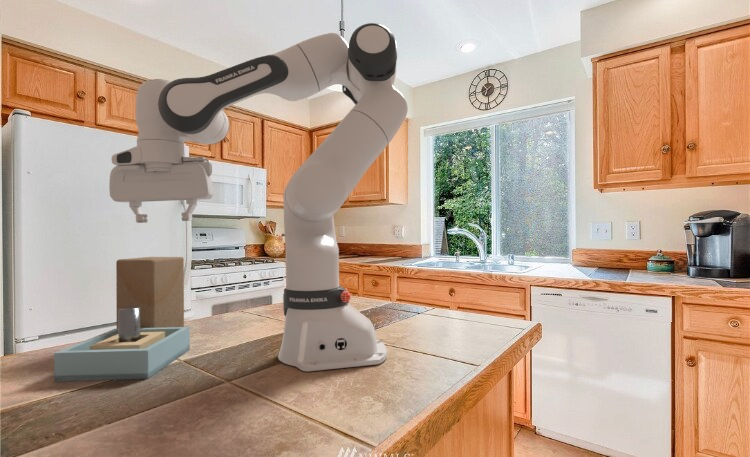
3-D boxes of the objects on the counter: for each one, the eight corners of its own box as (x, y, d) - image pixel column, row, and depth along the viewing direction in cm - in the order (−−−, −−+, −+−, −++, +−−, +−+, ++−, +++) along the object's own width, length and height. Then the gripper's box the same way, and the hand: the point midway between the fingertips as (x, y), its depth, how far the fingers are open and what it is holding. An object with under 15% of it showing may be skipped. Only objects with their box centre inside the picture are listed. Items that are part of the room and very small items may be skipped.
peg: (144, 355, 73) (143, 306, 73) (133, 361, 70) (132, 310, 70) (126, 355, 73) (125, 306, 73) (114, 362, 70) (113, 310, 70)
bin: (189, 349, 80) (189, 326, 80) (148, 378, 64) (148, 350, 64) (115, 351, 79) (114, 328, 79) (54, 381, 63) (54, 353, 63)
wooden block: (152, 349, 81) (152, 259, 81) (115, 347, 83) (115, 259, 83) (185, 336, 90) (184, 256, 91) (150, 334, 92) (150, 256, 93)
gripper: (216, 159, 82) (219, 220, 82) (122, 162, 80) (124, 223, 80) (205, 153, 76) (208, 219, 76) (102, 156, 74) (105, 223, 74)
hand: (164, 221), depth 78 cm, fingers open, 8 cm apart
